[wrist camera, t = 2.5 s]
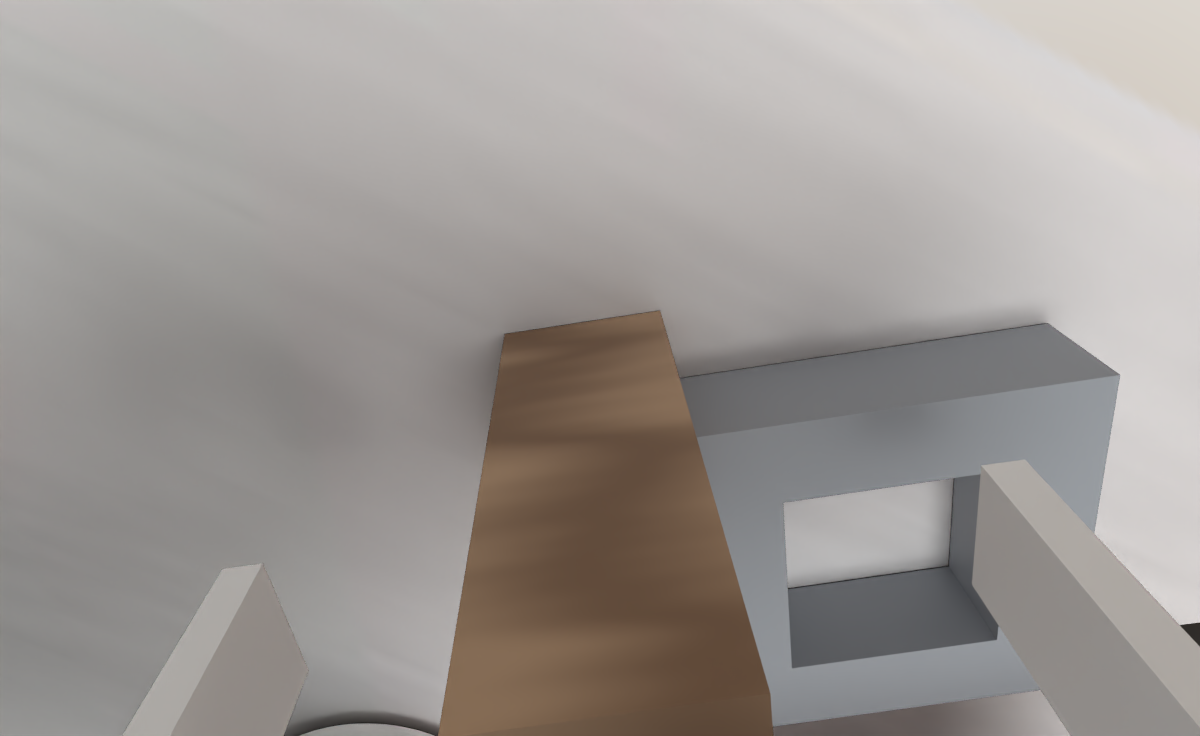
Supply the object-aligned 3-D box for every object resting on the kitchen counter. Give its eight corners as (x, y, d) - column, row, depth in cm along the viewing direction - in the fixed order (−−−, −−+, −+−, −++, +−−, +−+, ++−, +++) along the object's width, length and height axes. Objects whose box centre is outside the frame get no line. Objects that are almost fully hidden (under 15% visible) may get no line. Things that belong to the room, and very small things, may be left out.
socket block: (701, 654, 25) (718, 734, 23) (668, 380, 21) (684, 439, 18) (1014, 610, 25) (1068, 686, 22) (1047, 323, 21) (1120, 375, 18)
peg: (533, 464, 22) (503, 930, 11) (504, 333, 20) (437, 739, 9) (676, 443, 22) (784, 893, 11) (660, 310, 20) (770, 694, 9)
